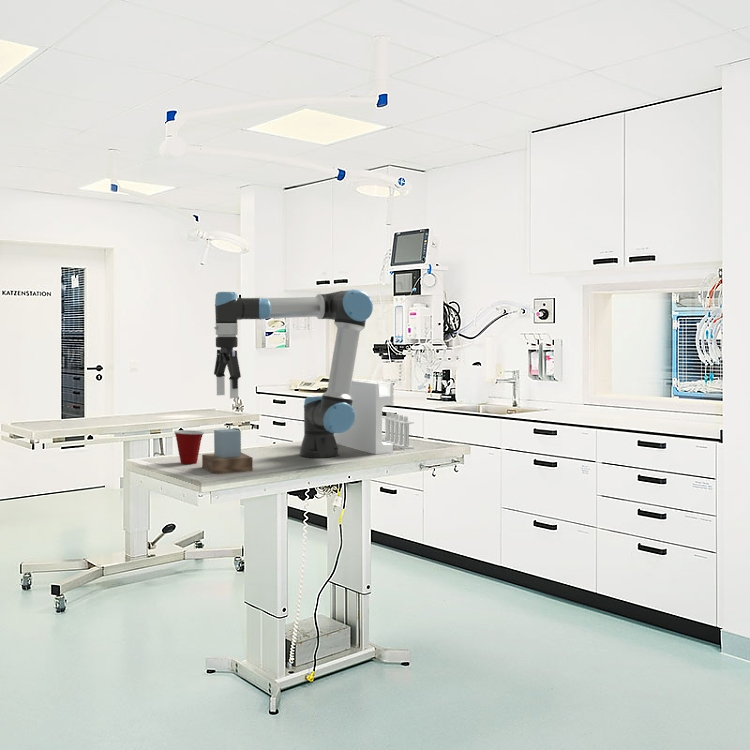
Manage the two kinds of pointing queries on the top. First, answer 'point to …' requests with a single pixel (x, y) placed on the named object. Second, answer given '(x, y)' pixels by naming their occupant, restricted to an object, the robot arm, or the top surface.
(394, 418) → the test tube rack
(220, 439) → the slate block
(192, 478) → the top surface
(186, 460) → the plastic cup
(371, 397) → the block
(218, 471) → the walnut block
